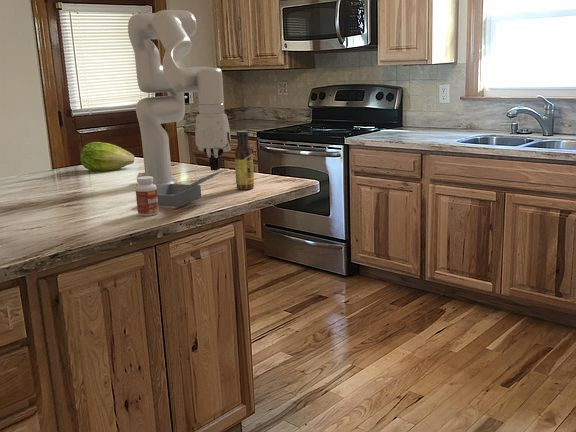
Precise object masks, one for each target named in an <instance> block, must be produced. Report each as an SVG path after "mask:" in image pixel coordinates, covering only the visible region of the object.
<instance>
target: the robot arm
mask: <svg viewBox="0 0 576 432" xmlns="http://www.w3.org/2000/svg"><path fill="white" fill-rule="evenodd" d="M127 23H128V24H127V34H128V39H129V41H130V44H131V46H132V49H133V54H134V60H135V62H134V63H135V71H136V72H135V73H136V81H137V85H138V90H139V91H141V92H142V93H145V94H157V93H167V95H164V96H160V95H159V96H147V97H143V98H141V99H139V100H138V102H137V103H136V105H135V113H136V117H137V121H138V125H139V130H140V136H141V145H142V156H143V166H144V172H138V174H137V175H136V176H137V177H136V179H137V178H138V177H143V176H152V177H153V184H155V185H156V187H157V188H159V187H161V186H164V185H167V184H178V182H177V179H175V178H173V174H172V161H171V151H170V138H169V134H168V133H167V131H166V129H165V128H163V126H162V124H167V123H176V122H180V121H182V120H183V119H184V117H185V114H186V103H185V93H186V94H187V93H197V96H198V105H196V106H195V110H196V111H198V114H197V115H196V119H195V129H194V130H195V131H194V132H195V137H194V139H195V145H196V147H197V150H198V151H199V152H204V154H206V156H207V158H209V159H208V160H209V161H208V163H209V168H210V171H214V172H215V171H216V172H218V171H219V170H220V169H221V166H222V165H221V163H222V162H221V157H222V155H223V154H225V153H226V152H227V153H228V152H231V149H232V148H231V146H230V145H231V141H232V139H231V130H230V123H229V119H228V116H227V114H226V113H225V99H224V98H225V97H224V84H223V83H224V81H223V80H224V79H223V71H222V69H221V68H219V67H209V66H188V67H187V66H185V67H180V66H178V64H177V62H178V61H180V60H182V59H184V58H185V57H186V56H188V55H189V53H190V52H191V50H192V48H193V43H192V41H191V39H190V38H191V37H193V36H194V35H195V34H196V32H197V29H198V23H197V19H196V17H195V16H194V14H193V13H192V12H191V11H189V10H183V9H163V10H158V11H157V12H142V13H137V14H133V15H132V16H131V17H130V18H129V20H128V22H127ZM152 40H159V41H160V43H161V45H162V47H163V48H164V50H165V53H164V55H163V58H162V63H161V57H160V55H161V54H160V51H159V49H158V47H157V46H156V44H155V43H154V42H153V41H152Z"/></svg>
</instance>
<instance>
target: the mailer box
mask: <svg viewBox="0 0 576 432" xmlns="http://www.w3.org/2000/svg"><path fill="white" fill-rule="evenodd" d="M189 185H190V183H189V184H187V183H186V184H185V183H176V184H167V185H164V186H161V187H157V197H158V208H163V209H177V208H180V207H181V206H184V205H187V204H188V203H191V202H193V201H196V200H198V199H199V198H202V187H201V184H198V185H196V186H193V187H191V188H188V189H186V190H183V191H181V192H178V193H176V194H175V192H177V191H179V190H181V189H183V188H185V187H187V186H189Z"/></svg>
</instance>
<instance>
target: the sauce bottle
mask: <svg viewBox="0 0 576 432" xmlns="http://www.w3.org/2000/svg"><path fill="white" fill-rule="evenodd" d="M236 138H237V142H236V143H237V146H236V147H235V150H234V168H235V169H234V171H235V172H234V173H235V185H236V189H237V190H239V191H241V190H244V191H245V190H252V189H254V188H255V187H254V184H255V175H254V154H253V152H252V149H251V146H250V144H249V143H250V142H249V131H248V130H238V131H236Z"/></svg>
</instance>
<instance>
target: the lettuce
mask: <svg viewBox="0 0 576 432" xmlns="http://www.w3.org/2000/svg"><path fill="white" fill-rule="evenodd" d="M135 160H136V159H135V155H134V154H133V153H131V152H130V151H127V150H126V149H125V148H122V147H121V146H118V145H116V144H112V143H108V142H101V141H91V142H89V143H86V144H85V145H84V146H83V147H82V148H81V151H80V162H81V165H82V166H83V167H84V168H85V169H86V170H89V171H92V172H108V171H114V170H119V169H122V168H125V167H126V166H129V165H133V164H134V162H135Z"/></svg>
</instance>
